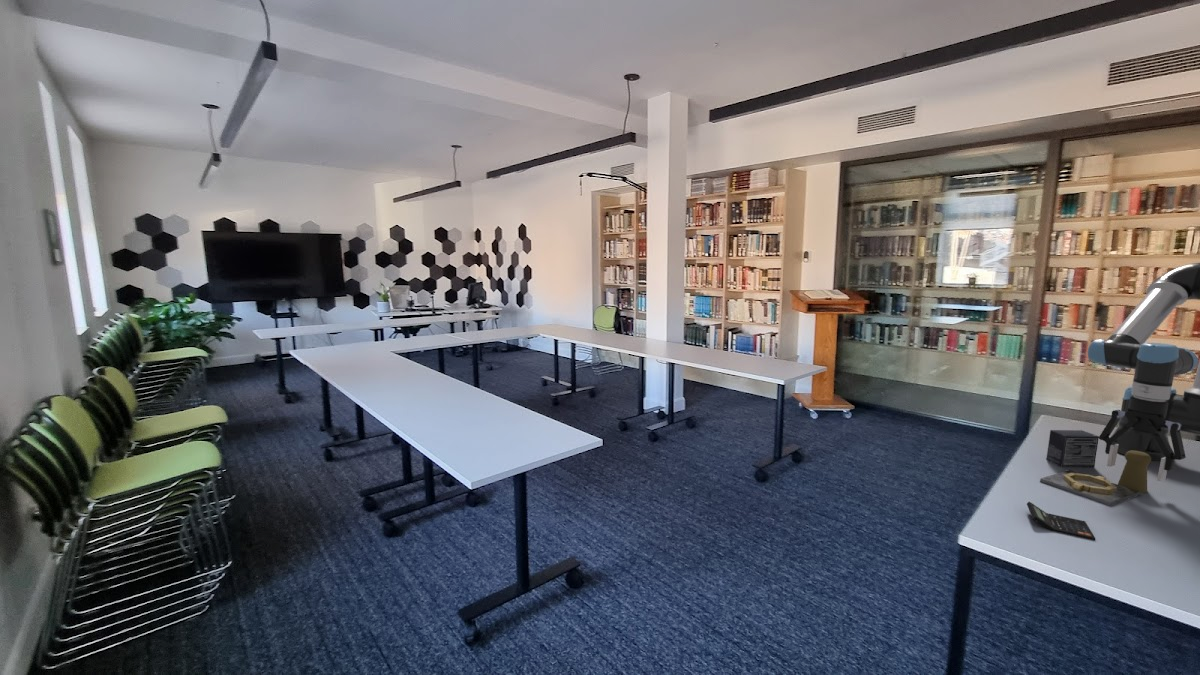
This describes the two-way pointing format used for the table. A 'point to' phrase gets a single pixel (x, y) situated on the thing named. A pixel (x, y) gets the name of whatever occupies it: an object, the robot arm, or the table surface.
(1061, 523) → the calculator
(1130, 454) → the cork
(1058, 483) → the socket
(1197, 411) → the robot arm
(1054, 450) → the small box
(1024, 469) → the table surface
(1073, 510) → the table surface
